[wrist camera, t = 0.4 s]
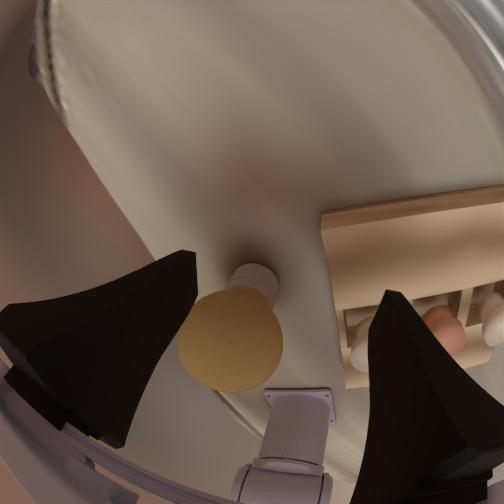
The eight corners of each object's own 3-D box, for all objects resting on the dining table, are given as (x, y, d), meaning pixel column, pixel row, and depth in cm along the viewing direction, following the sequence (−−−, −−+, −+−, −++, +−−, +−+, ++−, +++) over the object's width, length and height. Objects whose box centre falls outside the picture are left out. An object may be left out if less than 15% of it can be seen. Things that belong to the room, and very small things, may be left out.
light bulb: (204, 267, 23) (141, 356, 14) (262, 228, 20) (210, 326, 11) (252, 319, 24) (215, 414, 16) (312, 290, 21) (294, 401, 13)
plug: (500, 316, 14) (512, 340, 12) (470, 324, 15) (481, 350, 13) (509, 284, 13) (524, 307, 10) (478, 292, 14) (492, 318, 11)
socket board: (480, 340, 19) (488, 361, 16) (346, 364, 24) (345, 388, 22) (505, 185, 12) (527, 198, 10) (321, 212, 18) (320, 230, 15)
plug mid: (451, 329, 16) (460, 356, 13) (414, 336, 17) (421, 365, 15) (458, 296, 14) (470, 323, 12) (418, 304, 16) (427, 333, 13)
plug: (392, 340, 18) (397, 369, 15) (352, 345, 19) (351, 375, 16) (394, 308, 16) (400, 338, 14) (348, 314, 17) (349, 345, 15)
